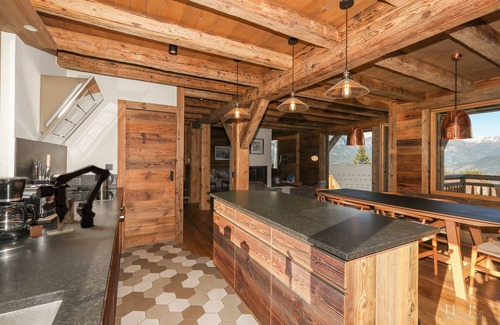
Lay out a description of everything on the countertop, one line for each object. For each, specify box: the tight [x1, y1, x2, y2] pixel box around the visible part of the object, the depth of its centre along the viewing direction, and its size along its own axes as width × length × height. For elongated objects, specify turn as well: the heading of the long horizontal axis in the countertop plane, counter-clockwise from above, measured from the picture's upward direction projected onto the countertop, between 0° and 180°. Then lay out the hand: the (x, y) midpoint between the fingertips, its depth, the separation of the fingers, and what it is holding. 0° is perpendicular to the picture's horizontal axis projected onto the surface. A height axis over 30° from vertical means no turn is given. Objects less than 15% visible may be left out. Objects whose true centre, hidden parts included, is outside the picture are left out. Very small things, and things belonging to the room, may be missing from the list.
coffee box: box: [63, 197, 75, 224], centre depth 163 cm, size 9×6×16 cm
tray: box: [46, 227, 75, 237], centre depth 140 cm, size 12×9×1 cm
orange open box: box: [29, 225, 44, 238], centre depth 135 cm, size 5×5×5 cm
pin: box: [57, 217, 64, 231], centre depth 140 cm, size 2×2×9 cm
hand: (60, 222), depth 140 cm, fingers closed on pin, 2 cm apart
